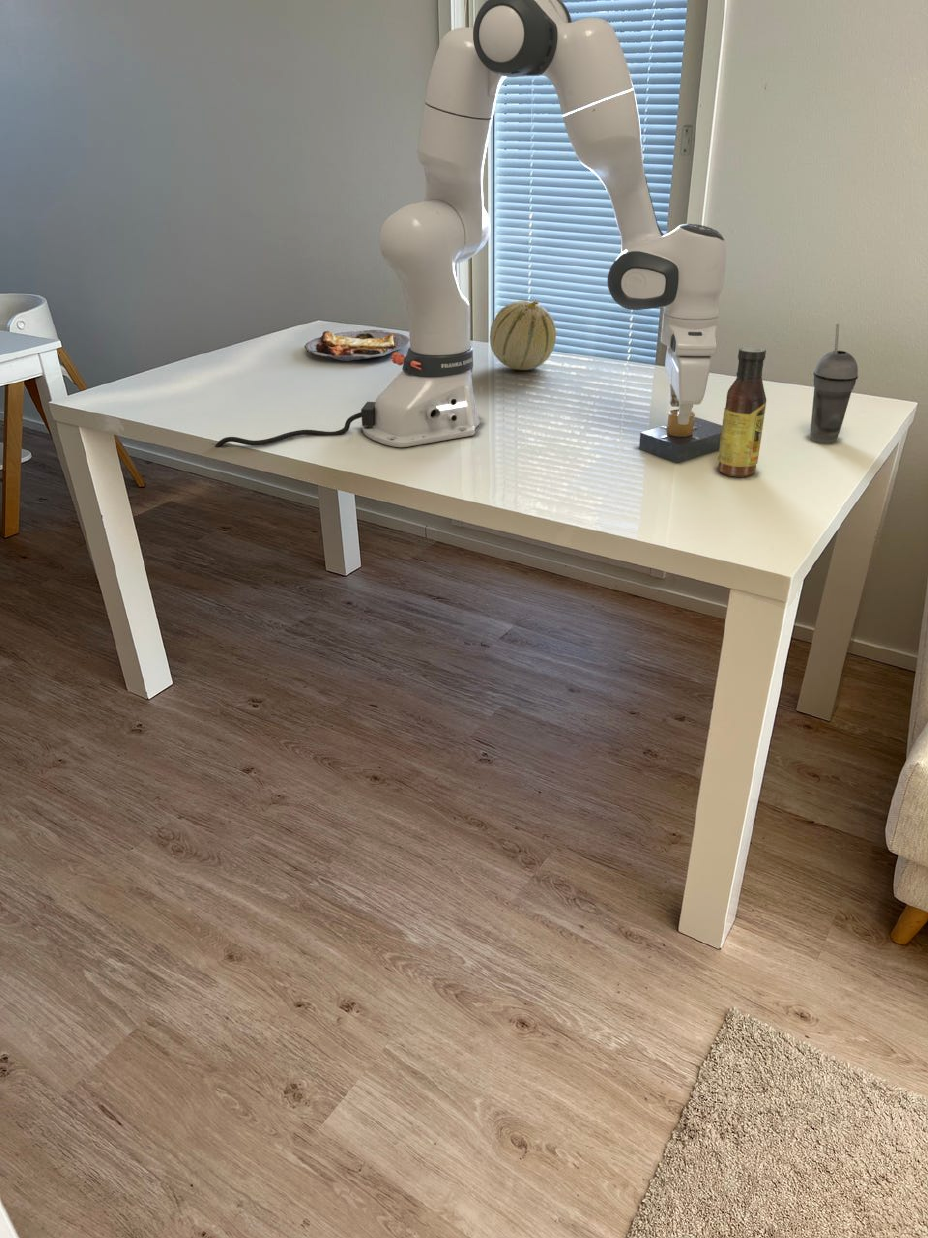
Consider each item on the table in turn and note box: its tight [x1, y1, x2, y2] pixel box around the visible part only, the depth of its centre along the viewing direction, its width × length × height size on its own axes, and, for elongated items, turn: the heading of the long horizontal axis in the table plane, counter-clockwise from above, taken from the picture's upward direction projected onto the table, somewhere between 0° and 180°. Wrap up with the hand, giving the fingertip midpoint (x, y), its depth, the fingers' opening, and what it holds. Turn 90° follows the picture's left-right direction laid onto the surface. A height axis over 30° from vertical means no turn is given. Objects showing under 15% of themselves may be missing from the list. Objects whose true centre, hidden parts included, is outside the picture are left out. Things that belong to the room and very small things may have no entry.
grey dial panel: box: [638, 416, 723, 464], centre depth 161 cm, size 14×9×3 cm, turn 126°
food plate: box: [303, 329, 410, 362], centre depth 222 cm, size 25×23×4 cm
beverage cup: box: [809, 323, 859, 445], centre depth 159 cm, size 7×7×20 cm
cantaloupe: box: [489, 300, 557, 371], centre depth 203 cm, size 15×15×15 cm
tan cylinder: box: [666, 408, 696, 437], centre depth 158 cm, size 4×4×4 cm
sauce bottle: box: [717, 346, 767, 478], centre depth 147 cm, size 7×6×20 cm
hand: (678, 414), depth 158 cm, fingers open, 8 cm apart
